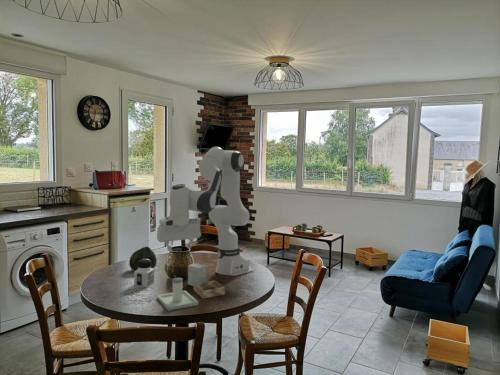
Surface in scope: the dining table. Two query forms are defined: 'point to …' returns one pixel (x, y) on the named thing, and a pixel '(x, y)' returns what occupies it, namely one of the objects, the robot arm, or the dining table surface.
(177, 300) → the canister
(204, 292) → the open wooden frame
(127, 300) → the dining table surface
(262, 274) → the dining table surface
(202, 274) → the small box
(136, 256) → the squash
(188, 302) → the tray
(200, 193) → the robot arm
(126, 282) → the dining table surface
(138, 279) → the container
